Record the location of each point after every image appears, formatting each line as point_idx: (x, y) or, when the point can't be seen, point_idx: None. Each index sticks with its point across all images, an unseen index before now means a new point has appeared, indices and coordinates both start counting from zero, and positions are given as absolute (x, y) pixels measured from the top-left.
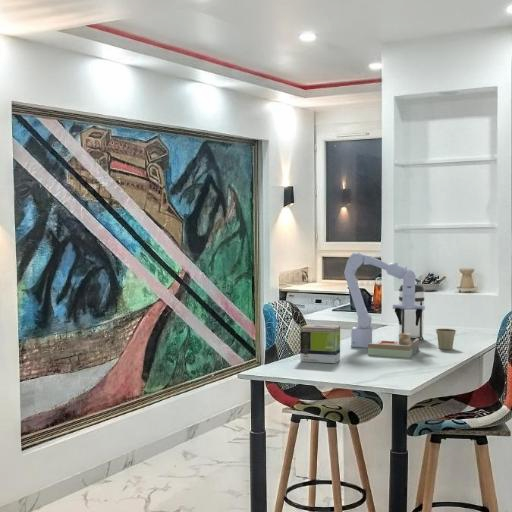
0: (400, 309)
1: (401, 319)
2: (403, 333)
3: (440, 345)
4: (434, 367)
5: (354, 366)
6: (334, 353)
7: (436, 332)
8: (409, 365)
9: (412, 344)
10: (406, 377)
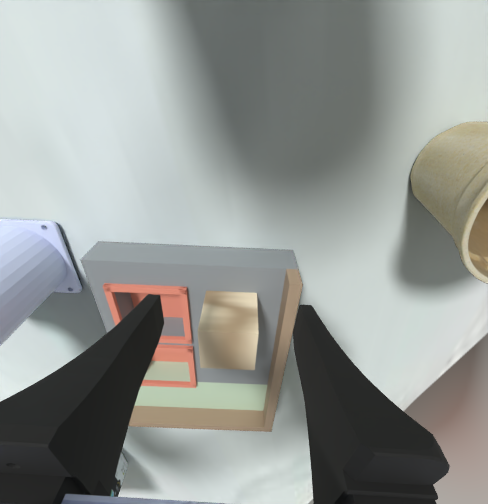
0: (71, 478)
1: (140, 325)
2: (216, 343)
3: (424, 206)
4: None
5: (173, 467)
6: (118, 491)
7: (458, 215)
8: (277, 447)
9: (277, 397)
10: (280, 494)
